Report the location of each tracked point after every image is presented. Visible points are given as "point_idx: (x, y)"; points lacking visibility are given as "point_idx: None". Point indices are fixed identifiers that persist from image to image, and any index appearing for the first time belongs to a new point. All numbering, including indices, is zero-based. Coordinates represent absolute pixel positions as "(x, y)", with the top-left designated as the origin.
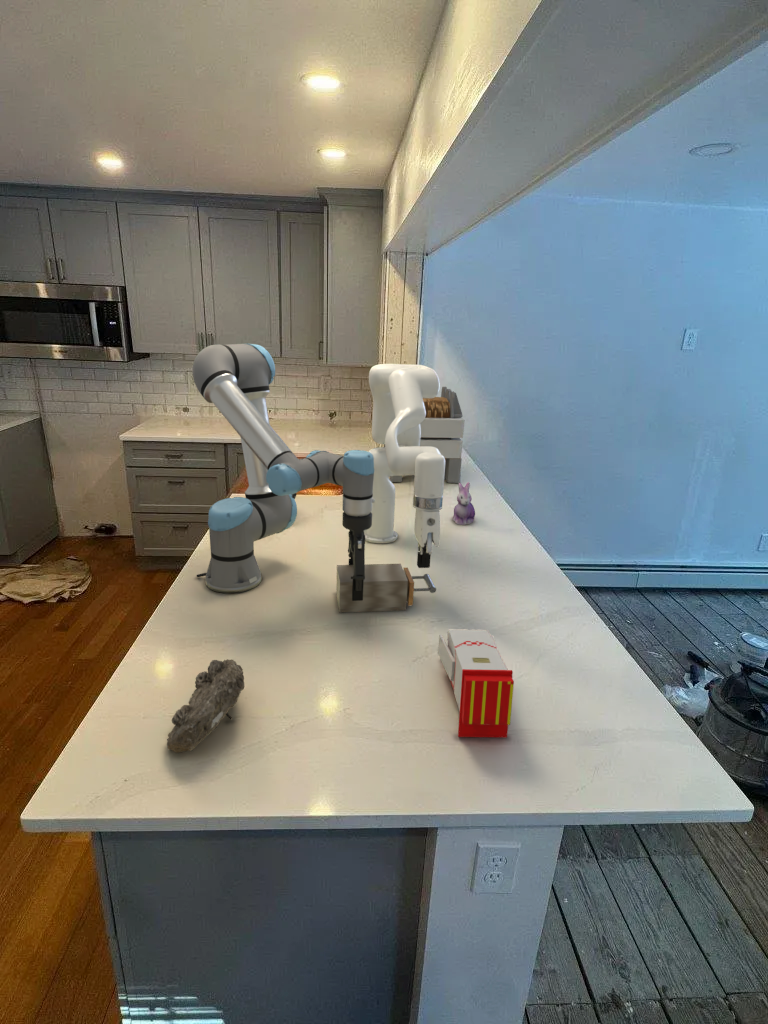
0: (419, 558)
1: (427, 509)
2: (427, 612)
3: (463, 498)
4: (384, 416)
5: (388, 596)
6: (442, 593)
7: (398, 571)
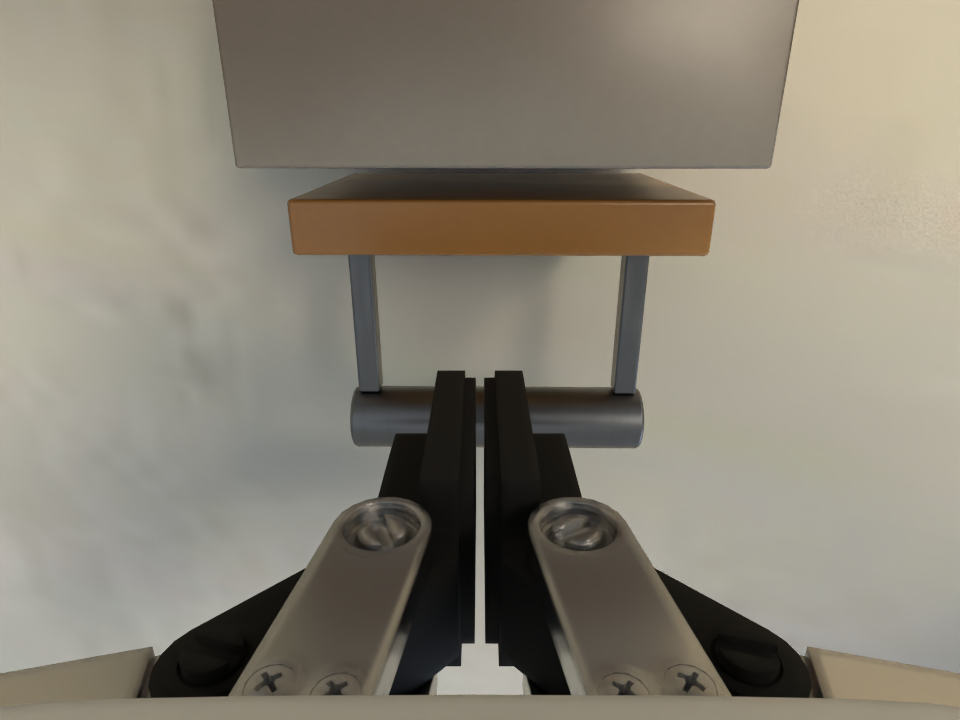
0: (427, 446)
1: None
2: (308, 308)
3: None
4: None
5: None
6: (577, 468)
7: (514, 81)
